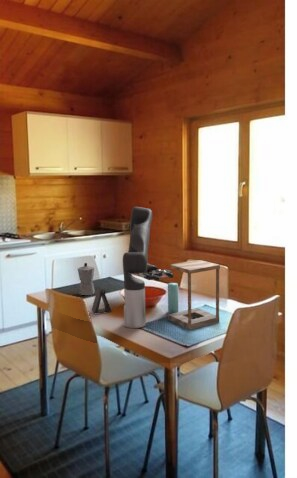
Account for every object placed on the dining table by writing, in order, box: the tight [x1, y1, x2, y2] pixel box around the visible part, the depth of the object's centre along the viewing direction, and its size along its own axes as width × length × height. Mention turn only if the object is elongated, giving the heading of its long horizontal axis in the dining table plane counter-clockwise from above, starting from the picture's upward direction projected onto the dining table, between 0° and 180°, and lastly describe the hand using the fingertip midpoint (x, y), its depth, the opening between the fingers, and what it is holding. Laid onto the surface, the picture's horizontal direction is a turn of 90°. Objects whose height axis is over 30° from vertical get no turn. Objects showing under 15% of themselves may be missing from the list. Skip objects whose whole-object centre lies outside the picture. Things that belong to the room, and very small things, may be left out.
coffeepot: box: [77, 262, 96, 296], centre depth 248 cm, size 15×9×18 cm, turn 12°
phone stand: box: [90, 286, 113, 314], centre depth 216 cm, size 9×6×12 cm, turn 111°
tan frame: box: [167, 259, 221, 331], centre depth 198 cm, size 16×17×27 cm
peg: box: [167, 282, 179, 314], centre depth 212 cm, size 5×5×14 cm
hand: (165, 277), depth 216 cm, fingers open, 8 cm apart
